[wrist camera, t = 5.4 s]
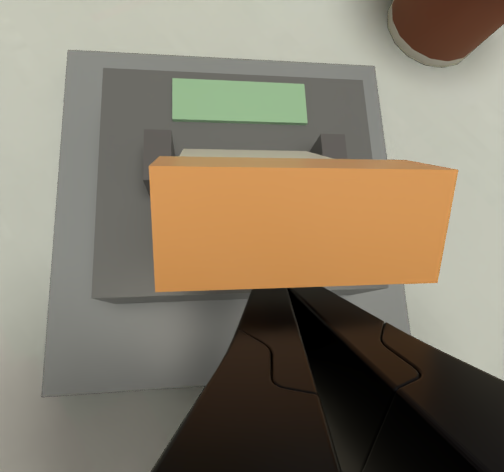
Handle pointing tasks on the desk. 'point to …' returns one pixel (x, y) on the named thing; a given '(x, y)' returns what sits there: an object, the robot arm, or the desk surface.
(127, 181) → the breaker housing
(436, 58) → the coffee cup
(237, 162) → the lever
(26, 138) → the desk surface
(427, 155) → the desk surface
